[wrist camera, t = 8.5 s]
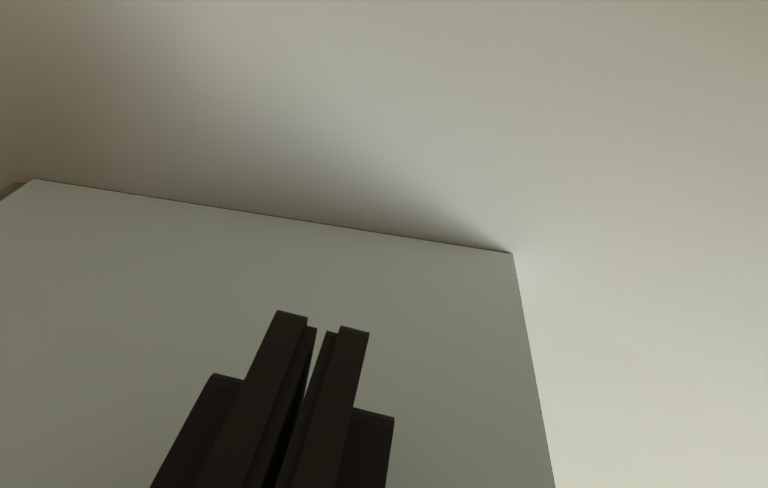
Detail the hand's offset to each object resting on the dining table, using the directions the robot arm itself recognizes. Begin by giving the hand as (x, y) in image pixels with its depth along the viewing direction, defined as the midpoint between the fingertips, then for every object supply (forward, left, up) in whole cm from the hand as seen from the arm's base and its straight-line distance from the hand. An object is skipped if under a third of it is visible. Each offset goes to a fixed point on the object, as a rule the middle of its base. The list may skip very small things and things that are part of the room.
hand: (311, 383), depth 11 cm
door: (+3, +3, -10) cm, 11 cm away
